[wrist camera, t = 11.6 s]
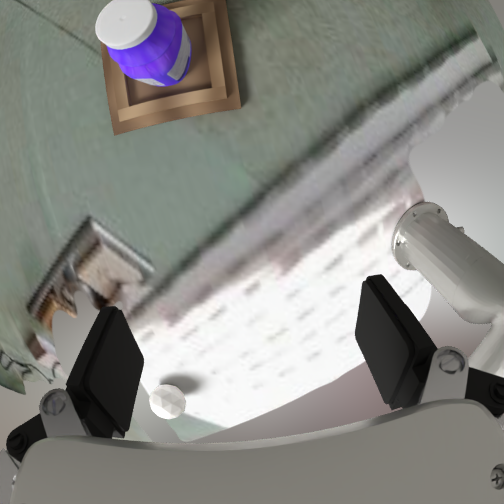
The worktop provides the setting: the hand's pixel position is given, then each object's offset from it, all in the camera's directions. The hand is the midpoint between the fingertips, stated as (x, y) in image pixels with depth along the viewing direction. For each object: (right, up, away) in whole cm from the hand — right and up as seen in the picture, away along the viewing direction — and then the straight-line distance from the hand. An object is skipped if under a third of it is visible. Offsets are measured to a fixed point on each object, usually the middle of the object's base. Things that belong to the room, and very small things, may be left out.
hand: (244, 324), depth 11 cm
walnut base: (-10, +26, +18) cm, 33 cm away
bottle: (-9, +25, +17) cm, 32 cm away
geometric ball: (-18, -27, +45) cm, 56 cm away
